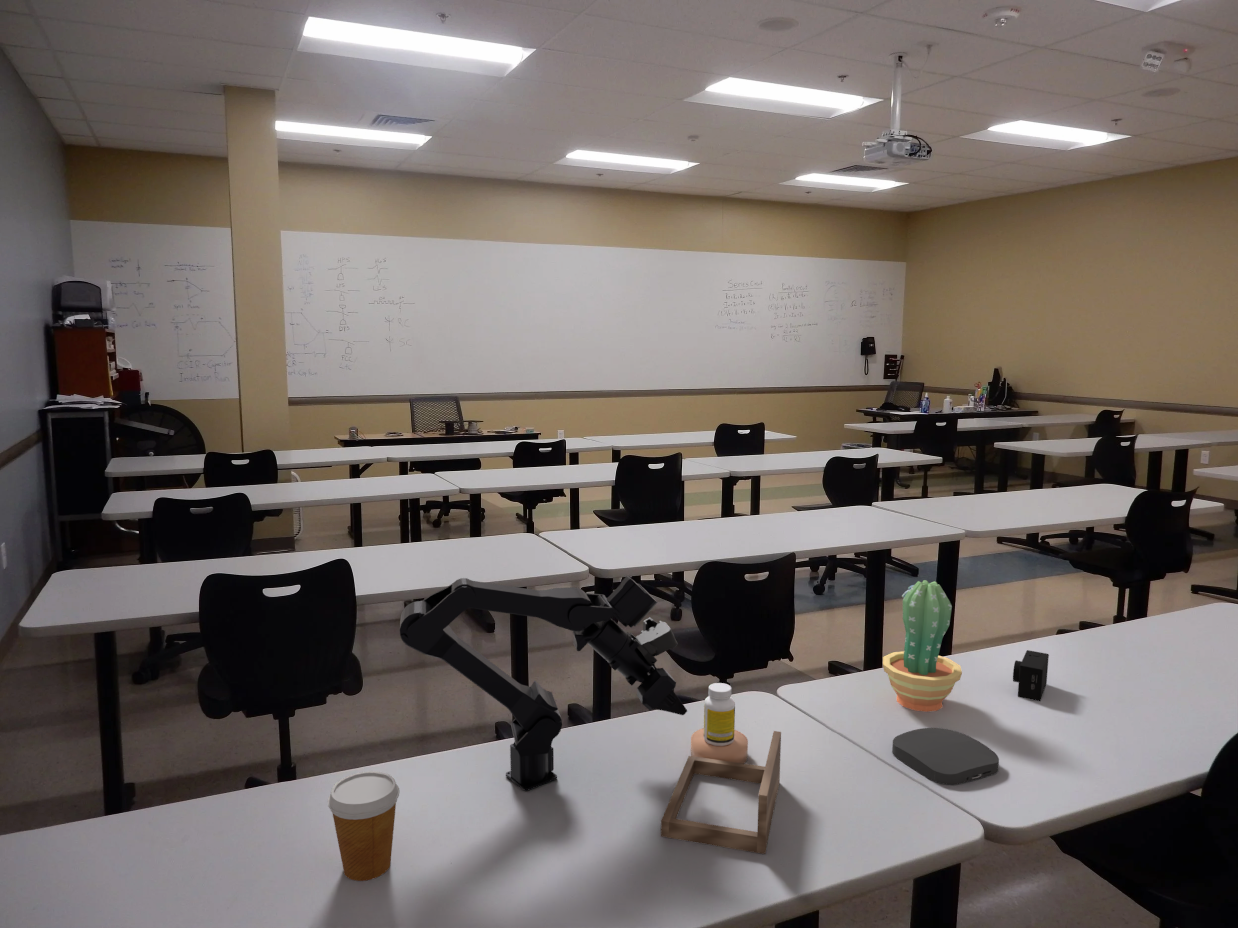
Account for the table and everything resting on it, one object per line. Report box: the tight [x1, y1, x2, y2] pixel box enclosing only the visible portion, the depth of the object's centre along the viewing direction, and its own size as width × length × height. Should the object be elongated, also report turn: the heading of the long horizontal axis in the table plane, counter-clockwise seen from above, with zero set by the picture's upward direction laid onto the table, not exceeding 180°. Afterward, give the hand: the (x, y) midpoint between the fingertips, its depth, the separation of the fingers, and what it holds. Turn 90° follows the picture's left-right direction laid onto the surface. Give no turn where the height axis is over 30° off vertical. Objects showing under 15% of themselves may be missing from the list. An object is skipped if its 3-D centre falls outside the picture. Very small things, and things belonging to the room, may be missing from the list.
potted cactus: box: [882, 579, 963, 713], centre depth 169 cm, size 15×16×25 cm
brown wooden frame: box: [660, 730, 782, 855], centre depth 131 cm, size 15×20×9 cm
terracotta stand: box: [690, 727, 749, 764], centre depth 148 cm, size 10×10×3 cm
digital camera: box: [1012, 649, 1050, 702], centre depth 176 cm, size 10×5×7 cm, turn 147°
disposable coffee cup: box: [327, 770, 400, 882], centre depth 116 cm, size 10×10×12 cm
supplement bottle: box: [703, 682, 736, 746], centre depth 147 cm, size 5×5×10 cm
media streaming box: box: [891, 727, 1000, 786], centre depth 147 cm, size 15×15×3 cm
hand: (677, 701), depth 145 cm, fingers open, 9 cm apart
